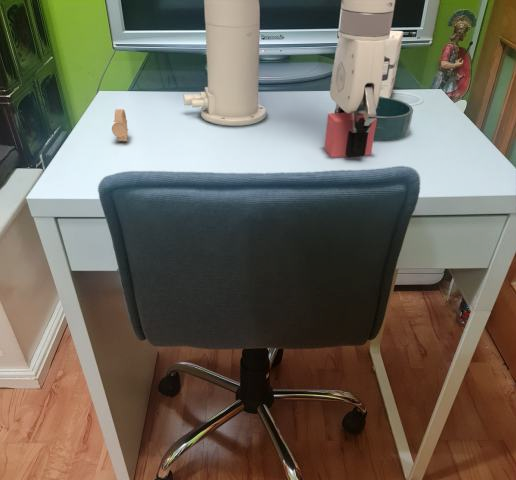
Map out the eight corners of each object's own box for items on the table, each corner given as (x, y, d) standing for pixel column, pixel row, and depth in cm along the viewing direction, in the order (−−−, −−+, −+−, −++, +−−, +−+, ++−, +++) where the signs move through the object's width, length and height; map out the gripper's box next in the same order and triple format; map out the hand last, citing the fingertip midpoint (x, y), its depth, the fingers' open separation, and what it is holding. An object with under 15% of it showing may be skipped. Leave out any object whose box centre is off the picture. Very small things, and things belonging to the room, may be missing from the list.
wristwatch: (114, 145, 86) (109, 114, 83) (117, 135, 90) (113, 105, 86) (130, 145, 86) (125, 114, 83) (133, 135, 90) (129, 105, 87)
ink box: (371, 89, 115) (380, 28, 107) (393, 91, 114) (404, 30, 106) (365, 99, 109) (374, 36, 101) (388, 102, 108) (400, 38, 100)
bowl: (355, 142, 90) (358, 119, 87) (333, 119, 99) (336, 97, 96) (419, 139, 92) (424, 115, 89) (392, 116, 101) (396, 95, 98)
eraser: (331, 157, 84) (335, 121, 80) (324, 148, 87) (327, 113, 83) (370, 155, 86) (377, 119, 82) (362, 146, 88) (368, 111, 85)
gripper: (322, 13, 80) (312, 131, 92) (361, 37, 67) (343, 170, 79) (367, 13, 81) (351, 129, 93) (414, 36, 68) (388, 167, 80)
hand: (347, 147), depth 86 cm, fingers open, 6 cm apart
